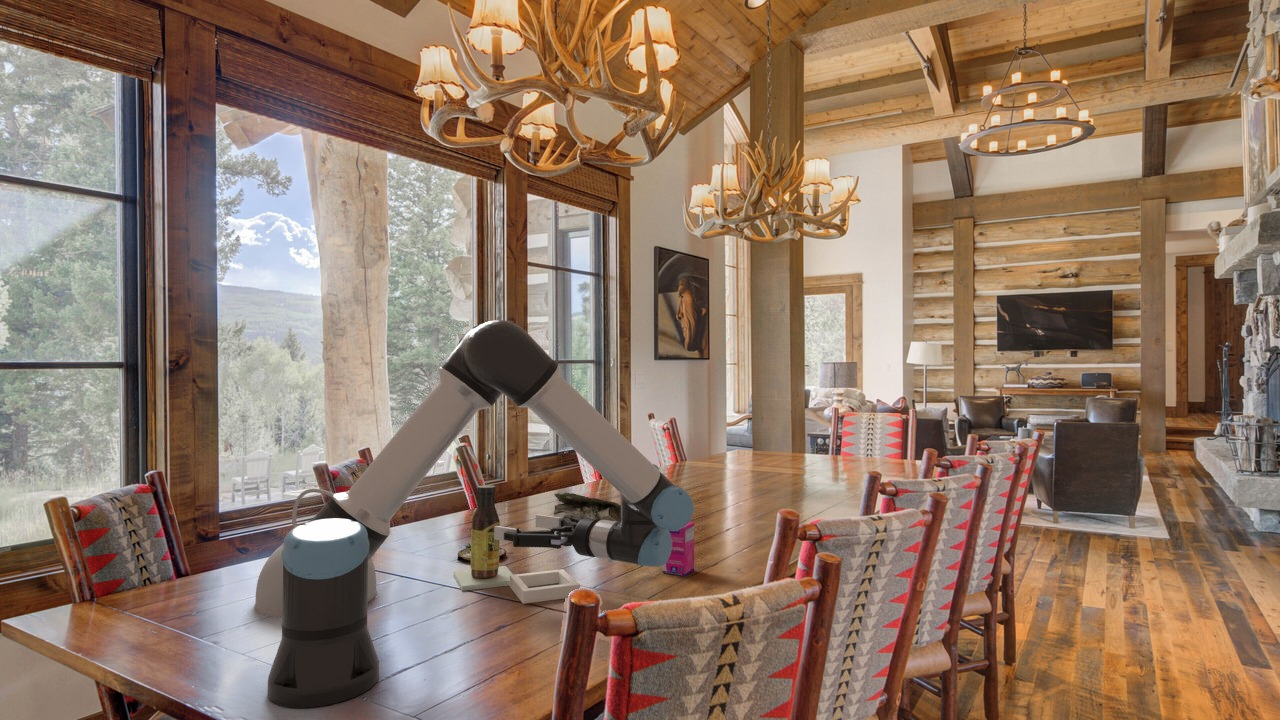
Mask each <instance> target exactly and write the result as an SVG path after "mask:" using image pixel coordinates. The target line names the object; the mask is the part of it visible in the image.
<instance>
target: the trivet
mask: <svg viewBox="0 0 1280 720" xmlns="http://www.w3.org/2000/svg"><path fill="white" fill-rule="evenodd" d="M452 573H453V575H452V576H453V578H454V579H455V582H456V583H457V584H458V586H459V589H460V590H461V592H465V591H474V590H482V589H483V590H484V589H490V588H491V589H492V588H498V587H499V588H500V587H507V586H510V575H514V574H513V573H512V571H511V570H510V569H509V568H508V567H507V566H506V565H502V566H501V565H499V568H498V574H497V575H496V576H494V577H489V578H475V577H473V576H472V575H471V569H463V570H455V571H453V572H452Z"/></svg>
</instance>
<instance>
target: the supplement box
mask: <svg viewBox="0 0 1280 720" xmlns="http://www.w3.org/2000/svg"><path fill="white" fill-rule="evenodd" d="M668 531H669V530H668ZM669 532H670V534H671V539H672V550H671V554H670V557H669V559H668V561H667V562H666V563H665V564H664V565H662V573H664V574H670V575H676V576H680V577H686V576H687V575H689V574H691V573H693V572H694V571H695V522H693V521H689V523H688V524H687V525H686V526H685V527H684V528H682V529H680V530H677V531H669Z"/></svg>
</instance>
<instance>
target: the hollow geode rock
mask: <svg viewBox="0 0 1280 720" xmlns="http://www.w3.org/2000/svg"><path fill="white" fill-rule="evenodd" d="M553 495H554V496H555V498H556V499H557V500H558V502H559V504H557V505H554V510H553V515H552V516H554V517H561V519H562V518H564V517H567V518H568V519H569V517H570V516H574V517H577V518H580V519H583V518H592V519H599V520H609V521H617V522H621V504H619V503H618V502H615V501H610V500H607V499H605V500H603V499H600V498H595V497H593V498H592V497H588V496H585V495H581V494H577V493H573V492H572V493H570V492H563V493H554V494H553Z"/></svg>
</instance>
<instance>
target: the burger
mask: <svg viewBox="0 0 1280 720" xmlns="http://www.w3.org/2000/svg"><path fill="white" fill-rule="evenodd" d="M467 544H468V545H465V546H464V547H465V548H463V549H462V550H460V551H458V552H457V558H456V559H457V560H459V559H460V558H461V559H464V560H467V561H471V543H470V542H468V543H467ZM500 557H502V560H503V561H504V560H506V558H507V550H506V549H505V548H502V547H501V546H499V558H500Z"/></svg>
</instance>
